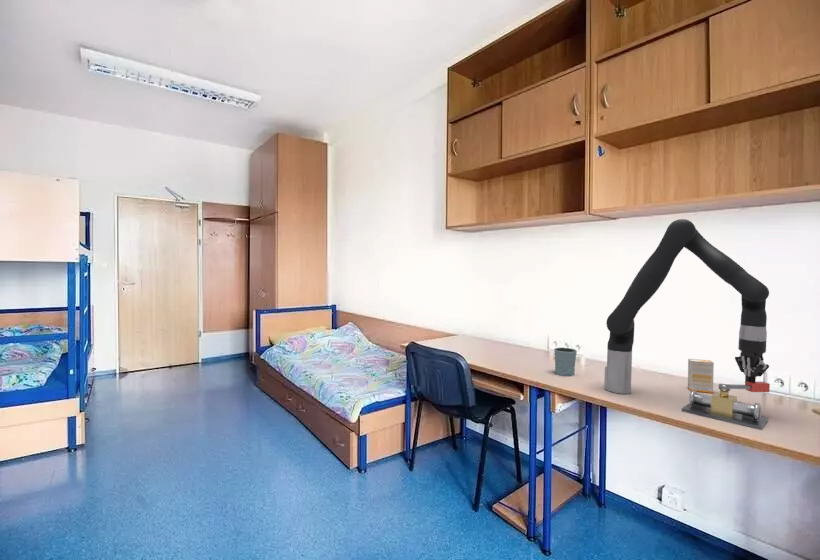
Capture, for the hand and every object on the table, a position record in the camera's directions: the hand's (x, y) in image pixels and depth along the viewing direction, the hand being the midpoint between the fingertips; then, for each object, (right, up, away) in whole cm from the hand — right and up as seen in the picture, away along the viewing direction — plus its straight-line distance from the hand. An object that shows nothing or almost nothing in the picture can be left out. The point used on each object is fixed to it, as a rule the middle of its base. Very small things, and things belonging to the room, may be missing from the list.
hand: (750, 386), depth 146 cm
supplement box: (+1, -9, +27) cm, 29 cm away
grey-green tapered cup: (-47, -8, +52) cm, 70 cm away
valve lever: (-5, -1, -3) cm, 6 cm away
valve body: (-12, -10, -3) cm, 15 cm away
